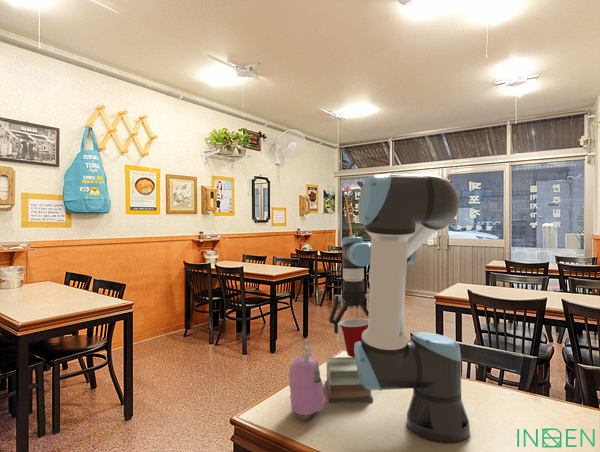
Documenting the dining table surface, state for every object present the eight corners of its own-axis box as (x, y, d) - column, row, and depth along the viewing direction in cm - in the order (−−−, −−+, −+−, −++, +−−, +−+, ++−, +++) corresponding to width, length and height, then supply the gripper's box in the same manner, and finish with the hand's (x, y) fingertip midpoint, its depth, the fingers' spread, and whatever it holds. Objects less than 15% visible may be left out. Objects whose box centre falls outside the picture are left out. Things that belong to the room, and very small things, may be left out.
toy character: (323, 427, 95) (322, 350, 95) (284, 424, 97) (283, 348, 97) (329, 405, 107) (328, 336, 107) (294, 402, 109) (293, 335, 109)
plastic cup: (340, 349, 137) (339, 317, 138) (369, 350, 136) (369, 317, 136) (339, 359, 126) (338, 324, 127) (371, 360, 125) (370, 324, 125)
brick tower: (372, 401, 109) (372, 371, 109) (329, 402, 109) (328, 372, 109) (364, 383, 122) (363, 356, 122) (325, 384, 122) (324, 357, 122)
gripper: (382, 278, 136) (384, 338, 135) (320, 279, 135) (321, 339, 135) (388, 280, 128) (389, 344, 128) (322, 281, 128) (323, 345, 127)
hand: (354, 342), depth 131 cm, fingers closed on plastic cup, 11 cm apart
